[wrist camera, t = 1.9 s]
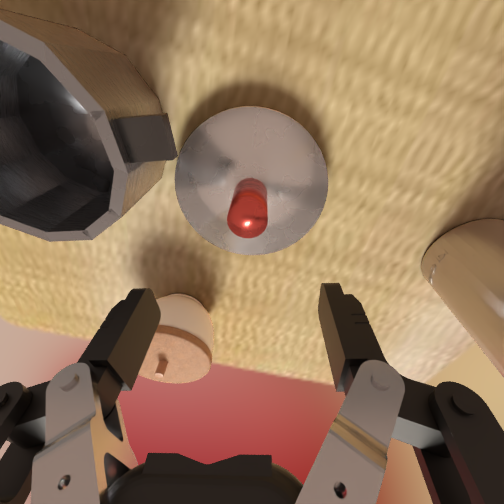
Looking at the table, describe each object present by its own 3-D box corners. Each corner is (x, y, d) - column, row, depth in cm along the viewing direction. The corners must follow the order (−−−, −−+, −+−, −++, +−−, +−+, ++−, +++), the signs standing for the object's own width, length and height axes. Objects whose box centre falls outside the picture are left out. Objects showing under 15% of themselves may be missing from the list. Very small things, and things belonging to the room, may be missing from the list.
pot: (177, 16, 16) (118, -24, 10) (209, 192, 24) (188, 236, 17) (-59, 43, 18) (-245, 25, 11) (40, 201, 25) (-38, 245, 18)
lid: (332, 97, 19) (360, 105, 13) (317, 243, 27) (331, 286, 21) (162, 111, 20) (123, 124, 14) (197, 247, 28) (180, 289, 22)
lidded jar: (161, 334, 38) (135, 399, 30) (130, 284, 32) (87, 350, 24) (228, 329, 36) (218, 396, 29) (209, 276, 30) (190, 343, 23)
